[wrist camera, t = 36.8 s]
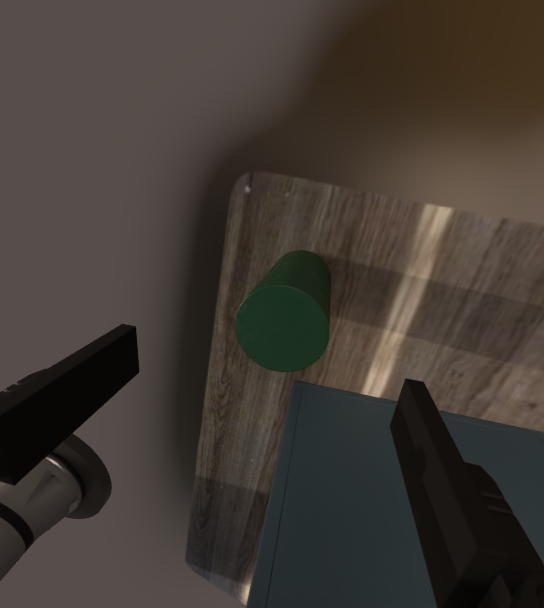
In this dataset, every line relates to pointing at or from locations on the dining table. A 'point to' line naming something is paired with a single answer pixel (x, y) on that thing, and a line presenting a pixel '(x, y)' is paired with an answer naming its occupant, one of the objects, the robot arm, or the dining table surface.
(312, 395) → the cabinet
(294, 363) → the tea tin
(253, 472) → the dining table surface
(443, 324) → the dining table surface
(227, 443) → the dining table surface
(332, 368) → the dining table surface
